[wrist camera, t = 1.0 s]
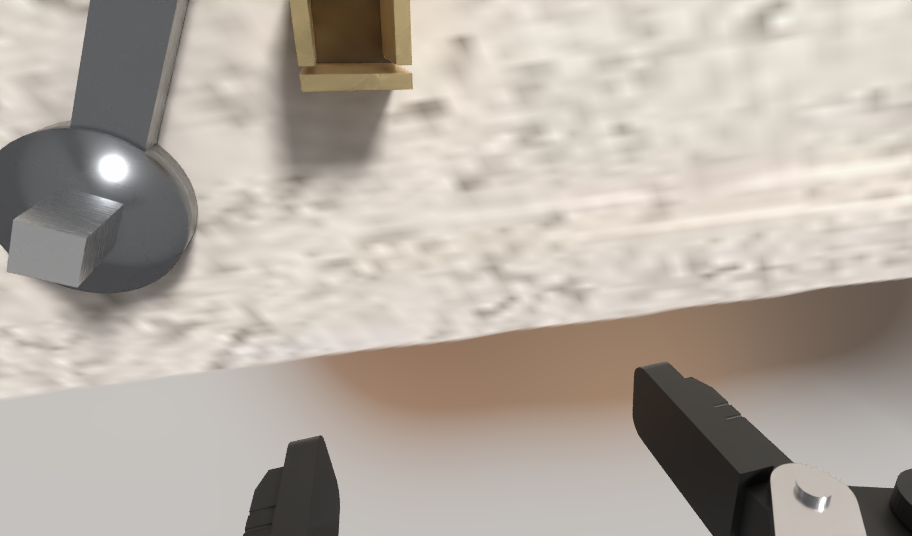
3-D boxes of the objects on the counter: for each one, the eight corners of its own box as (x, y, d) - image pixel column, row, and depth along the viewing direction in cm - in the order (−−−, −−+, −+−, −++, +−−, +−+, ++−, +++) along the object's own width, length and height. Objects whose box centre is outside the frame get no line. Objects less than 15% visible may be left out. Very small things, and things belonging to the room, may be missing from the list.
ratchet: (1, 246, 27) (-94, 313, 21) (58, -234, 19) (-64, -349, 13) (179, 289, 30) (142, 356, 24) (285, -104, 23) (271, -147, 17)
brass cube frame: (306, 77, 26) (301, 91, 21) (292, -29, 24) (283, -42, 19) (396, 75, 27) (412, 89, 22) (391, -26, 25) (408, -37, 20)
